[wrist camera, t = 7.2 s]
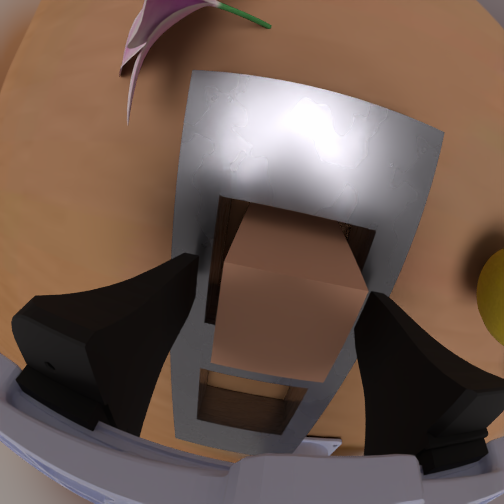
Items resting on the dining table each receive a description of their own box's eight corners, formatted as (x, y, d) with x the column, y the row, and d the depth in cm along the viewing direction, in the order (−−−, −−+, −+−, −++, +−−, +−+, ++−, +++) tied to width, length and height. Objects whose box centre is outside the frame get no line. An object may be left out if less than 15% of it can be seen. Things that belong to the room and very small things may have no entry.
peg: (313, 287, 16) (323, 382, 10) (238, 272, 16) (210, 362, 10) (335, 216, 14) (368, 291, 8) (252, 198, 15) (223, 261, 8)
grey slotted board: (289, 428, 23) (287, 459, 20) (185, 408, 24) (175, 437, 20) (411, 128, 12) (444, 132, 9) (214, 81, 12) (192, 69, 9)
